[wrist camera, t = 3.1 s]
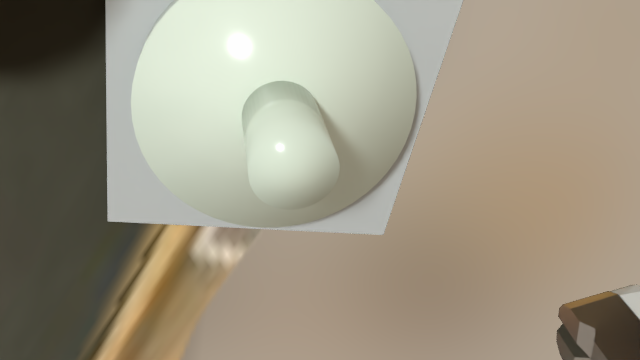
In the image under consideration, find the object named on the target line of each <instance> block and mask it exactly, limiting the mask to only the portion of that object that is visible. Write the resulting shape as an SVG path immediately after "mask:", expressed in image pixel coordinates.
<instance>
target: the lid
mask: <svg viewBox="0 0 640 360" xmlns="http://www.w3.org/2000/svg"><path fill="white" fill-rule="evenodd" d="M416 99H417V91H416V77H415V71H414V65H413V61H412V58H411V55H410V52H409V49H408V47H407V45H406V43H405V41H404V39H403V36H402V34H401V32H400V31H399V30H398V28H397V27H396V25H395V24H394V22H393V21H392V19H391V18H390V17H389V16H388V15H387V14H386V13H385V11H384V10H383V9H382V8H381V7H380V6H379V5H378V4H377V3H376V2H375V1H374V0H174V1H173V2H172V3H170V4H169V6H168V7H167V8H166V9H165V10H164V12H163V13H162V14H161V15H160V17H159V18H158V19H157V20H156V22H155V24H154V26H153V27H152V29H151V31H150V32H149V34H148V36H147V38H146V40H145V43H144V45H143V48H142V50H141V53H140V56H139V59H138V63H137V66H136V70H135V75H134V79H133V83H132V93H131V113H132V122H133V127H134V131H135V136H136V139H137V141H138V144H139V147H140V149H141V152H142V154H143V156H144V158H145V159H146V161H147V163H148V165H149V166H150V168H151V169H152V171H153V172H154V173H155V175H156V176H157V177H158V179H159V180H160V181H161V182H162V183H163V184H164V185H165V186H166V187H167V188H168V189H169V190H170V191H171V192H172V193H173V194H174V195H175V196H177V197H178V198H179V199H181V200H182V201H183V202H185V203H186V204H188V205H189V206H191V207H193V208H194V209H196V210H198V211H199V212H202V213H204V214H206V215H208V216H211V217H213V218H216V219H219V220H222V221H225V222H228V223H232V224H237V225H242V226H249V227H260V228H275V227H286V226H294V225H299V224H304V223H308V222H312V221H315V220H318V219H321V218H324V217H326V216H329V215H331V214H333V213H335V212H338V211H340V210H341V209H343V208H345V207H347V206H348V205H350V204H352V203H354V202H355V201H356V200H358V199H359V198H360V197H362V196H363V195H365V194H366V193H367V192H368V191H369V190H370V189H372V188H373V187H374V186H375V185H376V184H377V183H378V182H379V181H380V180H381V179H382V178H383V177H384V175H385V174H386V173H387V172H388V171H389V169H390V168H391V167H392V165H393V164H394V162H395V161H396V160H397V158H398V156H399V154H400V153H401V151H402V149H403V147H404V145H405V143H406V140H407V138H408V135H409V133H410V130H411V127H412V123H413V119H414V115H415V108H416Z"/></svg>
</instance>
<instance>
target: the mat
mask: <svg viewBox="0 0 640 360" xmlns="http://www.w3.org/2000/svg"><path fill="white" fill-rule="evenodd" d="M173 1H174V0H105V5H106V100H107V195H108V221H112V222H133V223H153V224H173V225H193V226H213V227H234V228H254V229H274V230H275V229H276V230H294V231H295V230H296V231H314V232H335V233H355V234H375V235H383V234H384V232H385V228H386V226H387V223H388V220H389V217H390V214H391V211H392V208H393V205H394V202H395V200H396V197H397V194H398V191H399V188H400V185H401V182H402V179H403V176H404V173H405V170H406V167H407V164H408V161H409V158H410V156H411V153H412V150H413V147H414V143H415V141H416V138H417V135H418V132H419V129H420V126H421V123H422V120H423V117H424V115H425V112H426V108H427V106H428V102H429V100H430V97H431V94H432V91H433V88H434V85H435V82H436V79H437V77H438V73H439V71H440V68H441V65H442V62H443V59H444V56H445V53H446V50H447V47H448V44H449V41H450V38H451V35H452V33H453V29H454V27H455V24H456V21H457V18H458V15H459V12H460V9H461V6H462V3H463V0H374V1H375V2H376V3H377V4H378V5H379V6H380V7H381V8H382V9H383V10H384V11H385V13H386V14H387V15H388V16H389V17H390V18H391V19H392V21H393V22H394V24H395V25H396V27H397V28H398V30H399V31H400V32H401V34H402V36H403V39H404V41H405V43H406V45H407V47H408V49H409V52H410V55H411V58H412V61H413V65H414V71H415V77H416V91H417V99H416V108H415V115H414V119H413V123H412V127H411V130H410V133H409V135H408V138H407V140H406V143H405V145H404V147H403V149H402V151H401V153H400V154H399V156H398V158H397V160H396V161H395V162H394V164H393V165H392V167H391V168H390V169H389V171H388V172H387V173H386V174H385V175H384V177H383V178H382V179H381V180H380V181H379V182H378V183H377V184H376V185H375V186H374V187H373V188H372V189H370V190H369V191H368V192H367V193H366V194H365V195H363V196H362V197H360V198H359V199H358V200H356V201H355V202H354V203H352V204H350V205H348V206H347V207H345V208H343V209H341V210H340V211H338V212H335V213H333V214H331V215H329V216H326V217H324V218H321V219H318V220H315V221H312V222H308V223H304V224H299V225H294V226H286V227H275V228H260V227H249V226H242V225H237V224H232V223H228V222H225V221H222V220H219V219H216V218H213V217H211V216H208V215H206V214H204V213H202V212H199V211H198V210H196V209H194V208H193V207H191V206H189V205H188V204H186V203H185V202H183V201H182V200H181V199H179V198H178V197H177V196H175V195H174V194H173V193H172V192H171V191H170V190H169V189H168V188H167V187H166V186H165V185H164V184H163V183H162V182H161V181H160V180H159V179H158V177H157V176H156V175H155V173H154V172H153V171H152V169H151V168H150V166H149V165H148V163H147V161H146V159H145V158H144V156H143V154H142V152H141V149H140V147H139V144H138V141H137V139H136V136H135V131H134V127H133V122H132V113H131V93H132V83H133V79H134V75H135V70H136V66H137V63H138V59H139V56H140V53H141V50H142V48H143V45H144V43H145V40H146V38H147V36H148V34H149V32H150V31H151V29H152V27H153V26H154V24H155V22H156V20H157V19H158V18H159V17H160V15H161V14H162V13H163V12H164V10H165V9H166V8H167V7H168V6H169V4H170V3H172V2H173Z"/></svg>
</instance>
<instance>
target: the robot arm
mask: <svg viewBox="0 0 640 360" xmlns="http://www.w3.org/2000/svg"><path fill="white" fill-rule="evenodd" d="M558 317H559V318H560V320H561V321H562V323H563V324H562V325H561V327H560V328H559V329H558V330H557V345H558V348H559V352H560V355H561V357H562V359H563V360H640V286H639V285H630V286H627V287H623V288H620V289H617V290H613V291H610V292H609V291H607V292H603V293H600V294H597V295H593V296H590V297H587V298H583V299H580V300H576V301H573V302H570V303H566V304H563V305H562V306H561V307H560V308H559V315H558Z"/></svg>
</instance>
